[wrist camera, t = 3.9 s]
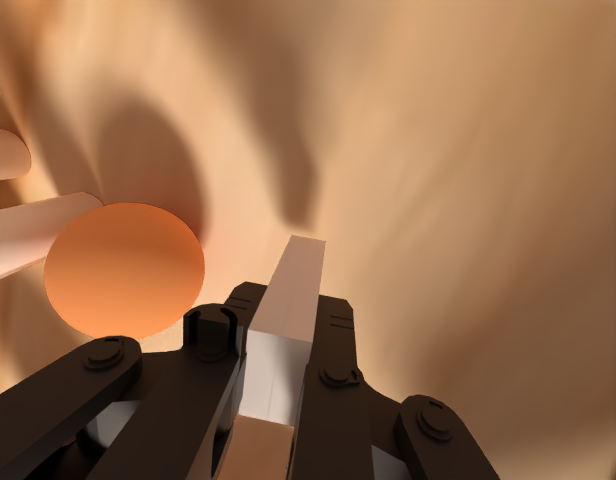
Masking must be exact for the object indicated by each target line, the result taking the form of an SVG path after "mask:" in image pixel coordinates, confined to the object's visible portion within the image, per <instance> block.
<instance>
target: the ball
mask: <svg viewBox="0 0 616 480" xmlns="http://www.w3.org/2000/svg"><path fill="white" fill-rule="evenodd" d="M204 274H205V264H204V256H203V252H202V249H201V246H200V244H199V241H198V240H197V238H196V236H195V235H194V233H193V232H192V231H191V229H190V228H189V227H188V226H187V225H186V224H185V223H184V222H183V221H182V220H180V219H179V218H178V217H176V216H175V215H173V214H171V213H169V212H168V211H166V210H163V209H161V208H158V207H155V206H151V205H148V204H141V203H116V204H110V205H106V206H102V207H99V208H96V209H94V210H91V211H88V212H87V213H85V214H83V215H81V216H80V217H78V218H76V219H75V220H74V221H72V222H71V223H70V224H69V225H68V226H67V227H65V228H64V229H63V231H62V232H61V233H60V234H59V235H58V236H57V238H56V239H55V241H54V243H53V244H52V246H51V248H50V250H49V252H48V255H47V258H46V262H45V268H44V283H45V289H46V293H47V296H48V298H49V301H50V303H51V304H52V306H53V308H54V309H55V311H56V312H57V313H58V314H59V315H60V317H61V318H62V319H63V320H64V321H65V322H67V323H68V324H69V325H70V326H72V327H73V328H75V329H77V330H78V331H80V332H83V333H85V334H87V335H89V336H92V337H96V338H102V337H106V336H117V335H123V336H127V337H131V338H133V339H141V338H144V337H148V336H151V335H154V334H156V333H159V332H161V331H163V330H165V329H166V328H168V327H170V326H171V325H173V324H174V323H175V322H177V321H178V320H179V319H180V318H182V317H183V315H184V314H185V313H186V312H187V311H188V310H189V309H190V308H191V307H192V305H193V304H194V302H195V300H196V299H197V297H198V295H199V293H200V290H201V287H202V285H203V280H204Z"/></svg>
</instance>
